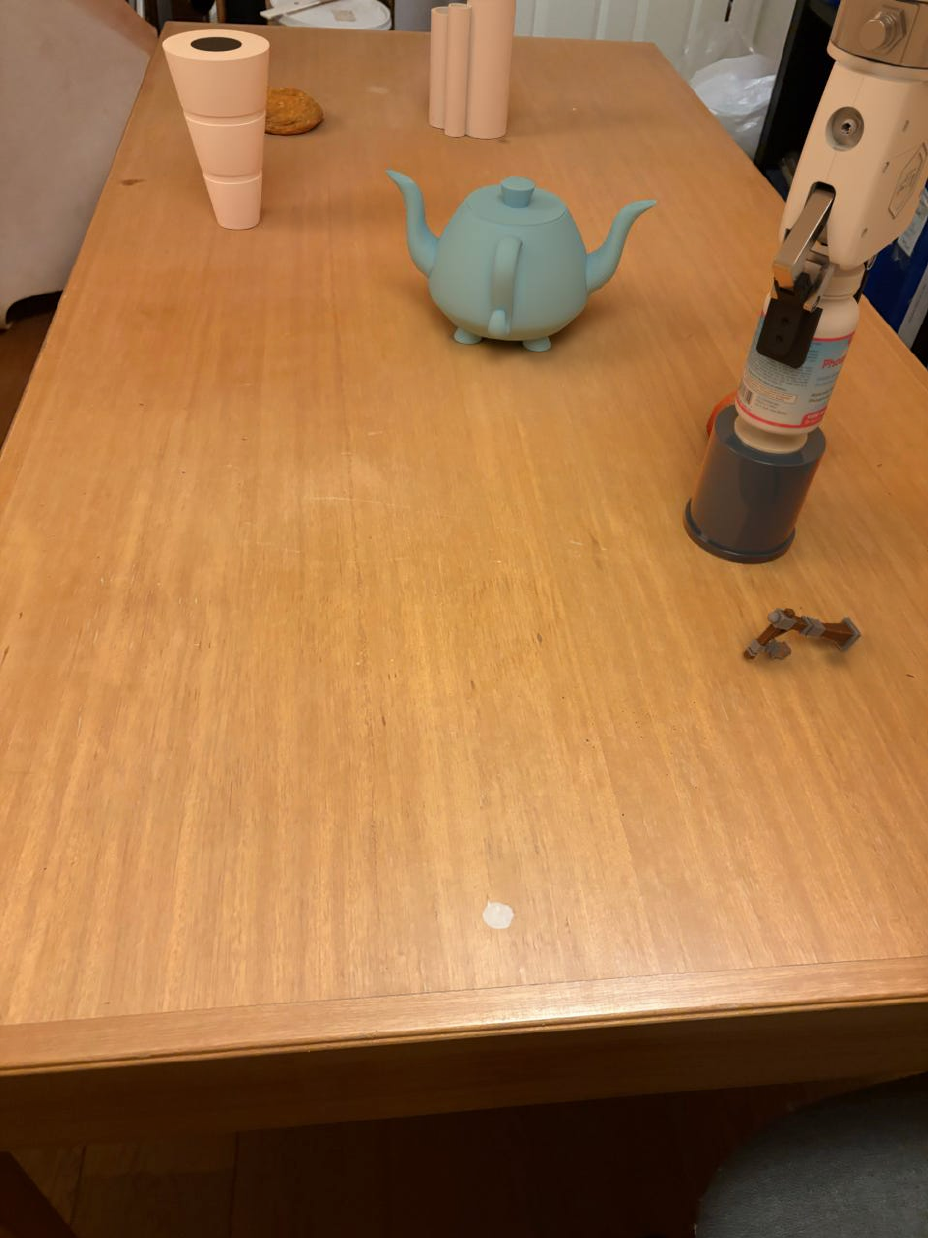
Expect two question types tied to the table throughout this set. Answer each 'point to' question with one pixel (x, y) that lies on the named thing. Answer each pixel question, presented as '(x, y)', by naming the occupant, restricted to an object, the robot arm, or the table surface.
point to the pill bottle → (803, 394)
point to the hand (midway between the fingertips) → (803, 337)
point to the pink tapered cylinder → (224, 114)
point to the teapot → (511, 260)
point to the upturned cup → (751, 489)
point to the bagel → (290, 111)
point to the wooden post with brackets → (786, 621)
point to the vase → (471, 67)
